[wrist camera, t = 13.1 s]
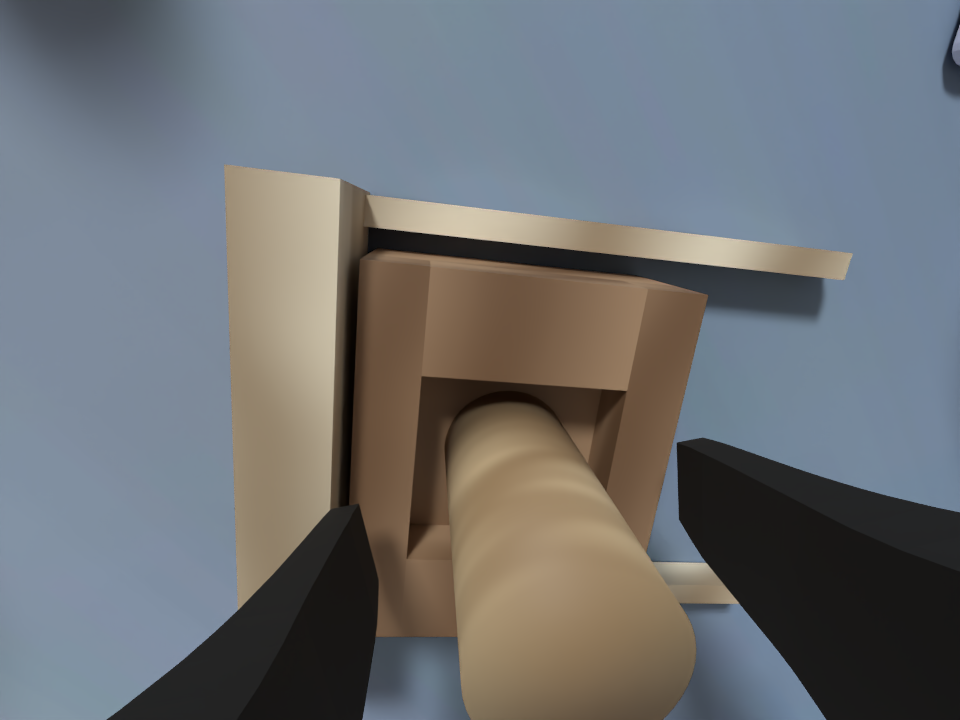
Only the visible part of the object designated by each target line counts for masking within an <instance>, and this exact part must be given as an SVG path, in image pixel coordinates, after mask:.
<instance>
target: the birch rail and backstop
mask: <svg viewBox="0 0 960 720" xmlns="http://www.w3.org/2000/svg"><path fill="white" fill-rule="evenodd" d="M224 170H225V203H226V235H227V268H228V300H229V333H230V365H231V398H232V430H233V462H234V495H235V527H236V560H237V592H238V610H239V609H240V608H241V607H242V606H243V605H244V604H245V603H246V601H247V600H248V599H249V598H250V597H251V596H252V595H253V594H254V593H255V592H256V591H257V590H258V589H259V588H260V587H261V586H262V585H263V584H264V583H265V582H266V581H267V580H268V579H269V578H270V577H271V576H272V575H273V574H274V573H275V571H276V570H277V569H278V568H279V567H280V566H281V565H282V564H283V563H284V561H285V560H286V559H287V558H288V557H289V556H290V555H291V554H292V552H293V551H294V550H295V549H296V548H297V547H298V546H299V545H300V543H301V542H302V541H303V540H304V539H305V538H306V536H307V535H308V534H309V533H310V532H311V531H312V529H313V528H314V527H315V526H316V525H317V524H318V523H319V521H320V520H321V519H322V518H323V517H324V516H325V515H326V514H327V513H328V512H329V511H330V510H331V509H333V508H338V507H344V506H349V498H350V475H351V451H352V428H353V405H354V381H355V358H356V335H357V311H358V288H359V265H360V259H361V258H363V257H364V256H366V255H367V252H368V231H369V227H374V228H383V229H392V230H400V231H409V232H418V233H427V234H436V235H445V236H454V237H463V238H472V239H481V240H490V241H499V242H508V243H517V244H525V245H534V246H543V247H552V248H561V249H570V250H579V251H588V252H597V253H606V254H615V255H624V256H633V257H642V258H650V259H659V260H668V261H677V262H686V263H695V264H704V265H713V266H722V267H731V268H740V269H749V270H758V271H767V272H775V273H784V274H793V275H802V276H811V277H820V278H829V279H838V280H844V279H845V276H846V273H847V270H848V266H849V263H850V260H851V257H852V254H853V253H845V252H837V251H828V250H820V249H812V248H804V247H795V246H787V245H779V244H771V243H762V242H754V241H746V240H737V239H729V238H721V237H713V236H704V235H696V234H688V233H679V232H671V231H663V230H655V229H646V228H638V227H630V226H622V225H613V224H605V223H597V222H588V221H580V220H572V219H564V218H555V217H547V216H539V215H531V214H522V213H514V212H506V211H497V210H489V209H481V208H473V207H464V206H456V205H448V204H439V203H431V202H423V201H415V200H406V199H398V198H390V197H382V196H373V195H370V192H367V191H365V190H363V189H361V188H359V187H357V186H354V185H352V184H350V183H348V182H346V181H344V180H341V179H337V178H329V177H321V176H312V175H304V174H296V173H288V172H280V171H272V170H264V169H256V168H248V167H240V166H232V165H224ZM652 563H653V564H654V566H655V567H656V569H657V570H658V572H659V573H660V575H661V576H662V578H663V579H664V581H665V582H666V584H667V586H668V587H669V589H670V590H671V592H672V593H673V595H674V596H675V598H676V599H677V601H678V602H679V603H707V604H739V602H738V601H737V600H736V599H735V598H734V596H733V595H732V594H731V593H730V591H729V590H728V589H727V588H726V587H725V585H724V584H723V583H722V582H721V580H720V579H719V578H718V577H717V575H716V574H715V573H714V572H713V570H712V569H711V568H710V567H709V565H708V564H707V563H681V562H652Z"/></svg>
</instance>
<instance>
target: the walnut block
mask: <svg viewBox="0 0 960 720" xmlns="http://www.w3.org/2000/svg"><path fill="white" fill-rule="evenodd" d="M707 299H708V295H706V294H702V293H699V292H695V291H691V290H688V289H684V288H680V287H677V286H673V285H669V284H666V283H662V282H658V281H655V280H651V279H647V278H644V277H640V276H636V275H626V274H617V273H607V272H598V271H589V270H579V269H570V268H560V267H551V266H542V265H532V264H523V263H513V262H504V261H495V260H485V259H476V258H466V257H457V256H448V255H438V254H429V253H419V252H410V251H401V250H391V249H382V248H377V249H375V250H374V251H372V252H371V253H369V254H367V255H366V256H364V257H363V258H361V259H360V265H359V288H358V311H357V335H356V358H355V381H354V405H353V428H352V451H351V475H350V498H349V505H354V504H359V505H360V509H361V513H362V517H363V521H364V525H365V528H366V532H367V536H368V540H369V544H370V548H371V551H372V555H373V559H374V563H375V567H376V571H377V574H378V578H379V596H378V620H377V631H376V637H458V634H457V621H456V607H455V593H454V579H453V565H452V551H451V537H450V523H449V510H448V496H447V482H446V468H445V454H444V445H445V439H446V435H447V432H448V429H449V427H450V425H451V423H452V421H453V420H454V418H455V417H456V415H457V414H458V413H459V412H460V411H461V410H462V409H463V408H464V407H465V406H466V405H468V404H469V403H470V402H472V401H473V400H475V399H477V398H479V397H481V396H483V395H486V394H489V393H493V392H498V391H518V392H523V393H527V394H530V395H532V396H535V397H537V398H538V399H540V400H542V401H543V402H544V403H546V404H547V405H548V406H549V407H550V408H551V409H552V410H553V411H554V413H555V414H556V416H557V417H558V419H559V420H560V422H561V423H562V425H563V426H564V428H565V429H566V431H567V432H568V434H569V435H570V437H571V439H572V440H573V442H574V443H575V445H576V446H577V448H578V449H579V451H580V452H581V454H582V455H583V457H584V458H585V460H586V462H587V463H588V465H589V466H590V468H591V469H592V471H593V472H594V474H595V475H596V477H597V478H598V480H599V481H600V483H601V484H602V486H603V488H604V489H605V491H606V492H607V494H608V495H609V497H610V498H611V500H612V501H613V503H614V504H615V506H616V507H617V509H618V511H619V512H620V514H621V515H622V517H623V518H624V520H625V521H626V523H627V524H628V526H629V527H630V529H631V530H632V532H633V533H634V535H635V537H636V538H637V540H638V541H639V543H640V544H641V546H642V547H643V549H644V550H645V552H646V551H647V547H648V543H649V539H650V535H651V530H652V526H653V522H654V518H655V514H656V510H657V506H658V501H659V497H660V493H661V489H662V485H663V481H664V477H665V472H666V468H667V464H668V460H669V456H670V452H671V448H672V443H673V439H674V435H675V431H676V427H677V423H678V419H679V414H680V410H681V406H682V402H683V398H684V394H685V390H686V386H687V381H688V377H689V373H690V369H691V365H692V361H693V357H694V352H695V348H696V344H697V340H698V336H699V332H700V328H701V323H702V319H703V315H704V311H705V307H706V303H707Z"/></svg>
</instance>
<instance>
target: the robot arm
mask: <svg viewBox="0 0 960 720" xmlns="http://www.w3.org/2000/svg"><path fill="white" fill-rule="evenodd" d="M952 56H953V59H954V61H955V62H956V64H958V65H960V26H959V29H958V32H957V35H956V38H955V41H954V44H953V49H952ZM677 467H678V500H679V520H680V522H681V524H682V525H683V527H684V529H685V530H686V532H687V534H688V535H689V537H690V539H691V540H692V542H693V544H694V545H695V547H696V548H697V550H698V551H699V553H700V554H701V556H702V558H703V559H704V560H705V562H706V563H707V564H708V565H709V567H710V568H711V569H712V570H713V572H714V573H715V574H716V575H717V577H718V578H719V579H720V580H721V582H722V583H723V584H724V585H725V587H726V588H727V589H728V590H729V591H730V593H731V594H732V595H733V596H734V598H735V599H736V600H737V601H738V602H739V604H740V605H741V606H742V607H743V609H744V610H745V611H746V612H747V613H748V615H749V616H750V617H751V618H752V620H753V621H754V622H755V623H756V624H757V626H758V627H759V628H760V629H761V631H762V632H763V633H764V634H765V635H766V637H767V638H768V639H769V640H770V641H771V643H772V644H773V645H774V646H775V648H776V649H777V650H778V651H779V653H780V654H781V655H782V657H783V658H784V659H785V661H786V662H787V663H788V665H789V666H790V667H791V669H792V670H793V671H794V673H795V674H796V675H797V677H798V678H799V680H800V681H801V683H802V684H803V686H804V687H805V689H806V690H807V692H808V693H809V695H810V696H811V697H812V699H813V700H814V702H815V703H816V705H817V706H818V708H819V709H820V711H821V712H822V714H823V715H824V717H825V718H826V720H960V512H955V511H950V510H945V509H941V508H936V507H931V506H927V505H923V504H919V503H915V502H911V501H906V500H902V499H898V498H894V497H890V496H886V495H882V494H878V493H875V492H871V491H867V490H864V489H860V488H857V487H853V486H850V485H847V484H843V483H840V482H837V481H833V480H830V479H827V478H824V477H821V476H817V475H814V474H811V473H808V472H805V471H802V470H799V469H796V468H793V467H790V466H787V465H785V464H782V463H779V462H776V461H773V460H770V459H767V458H764V457H762V456H759V455H756V454H753V453H750V452H747V451H745V450H742V449H739V448H736V447H733V446H730V445H727V444H724V443H721V442H717V441H714V440H710V439H706V438H699V439H693V440H688V441H683V442H678V443H677ZM378 596H379V578H378V574H377V571H376V567H375V563H374V559H373V555H372V551H371V548H370V544H369V540H368V536H367V532H366V528H365V525H364V521H363V517H362V513H361V509H360V505H359V504H354V505H349V506H344V507H338V508H333V509H331V510H330V511H329V512H328V513H327V514H326V515H325V516H324V517H323V518H322V519H321V520H320V521H319V523H318V524H317V525H316V526H315V527H314V528H313V529H312V531H311V532H310V533H309V534H308V535H307V536H306V538H305V539H304V540H303V541H302V542H301V543H300V545H299V546H298V547H297V548H296V549H295V550H294V551H293V552H292V554H291V555H290V556H289V557H288V558H287V559H286V560H285V561H284V563H283V564H282V565H281V566H280V567H279V568H278V569H277V570H276V571H275V573H274V574H273V575H272V576H271V577H270V578H269V579H268V580H267V581H266V582H265V583H264V584H263V585H262V586H261V587H260V588H259V589H258V590H257V591H256V592H255V593H254V594H253V595H252V596H251V597H250V598H249V599H248V600H247V601H246V603H245V604H244V605H243V606H242V607H241V608H240V609H239V610H238V611H237V612H236V613H235V614H234V615H233V616H232V617H230V618H229V619H228V620H227V621H226V622H225V623H224V624H223V625H222V626H221V627H220V628H219V629H218V630H217V631H216V632H214V633H213V634H212V635H211V636H210V637H209V638H208V639H207V640H205V641H204V642H203V643H202V644H201V645H200V646H199V647H197V648H196V649H195V650H194V651H193V652H192V653H191V654H190V655H188V656H187V657H186V658H185V659H184V660H182V661H181V662H180V663H179V664H178V665H176V666H175V667H174V668H173V669H171V670H170V671H169V672H168V673H166V674H165V675H164V676H163V677H161V678H160V679H159V680H157V681H156V682H155V683H154V684H152V685H151V686H150V687H149V688H147V689H146V690H145V691H143V692H142V693H141V694H140V695H138V696H137V697H136V698H135V699H133V700H132V701H131V702H129V703H128V704H127V705H126V706H124V707H123V708H122V709H121V710H119V711H118V712H116V713H115V714H114V715H112V716H111V717H110V718H108V719H107V720H362V718H363V712H364V706H365V700H366V693H367V687H368V681H369V675H370V669H371V663H372V657H373V650H374V644H375V637H376V631H377V620H378Z"/></svg>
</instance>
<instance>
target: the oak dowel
mask: <svg viewBox="0 0 960 720" xmlns="http://www.w3.org/2000/svg"><path fill="white" fill-rule="evenodd" d="M444 454H445V468H446V482H447V496H448V510H449V523H450V537H451V551H452V565H453V579H454V593H455V607H456V621H457V634H458V648H459V662H460V676H461V689H462V697H463V701H464V705H465V708H466V711H467V713H468V715H469V717H470V719H471V720H663V719H664V718H665V717H666V716H667V715H668V714H669V713H670V711H671V710H672V709H673V708H674V707H675V705H676V704H677V703H678V701H679V700H680V698H681V697H682V695H683V694H684V692H685V690H686V688H687V686H688V684H689V682H690V679H691V676H692V674H693V670H694V665H695V661H696V641H695V635H694V631H693V628H692V625H691V623H690V621H689V619H688V616H687V615H686V613H685V612H684V610H683V608H682V607H681V605H680V604H679V602H678V601H677V599H676V598H675V596H674V595H673V593H672V592H671V590H670V589H669V587H668V586H667V584H666V582H665V581H664V579H663V578H662V576H661V575H660V573H659V572H658V570H657V569H656V567H655V566H654V564H653V563H652V561H651V559H650V558H649V556H648V555H647V553H646V552H645V550H644V549H643V547H642V546H641V544H640V543H639V541H638V540H637V538H636V537H635V535H634V533H633V532H632V530H631V529H630V527H629V526H628V524H627V523H626V521H625V520H624V518H623V517H622V515H621V514H620V512H619V511H618V509H617V507H616V506H615V504H614V503H613V501H612V500H611V498H610V497H609V495H608V494H607V492H606V491H605V489H604V488H603V486H602V484H601V483H600V481H599V480H598V478H597V477H596V475H595V474H594V472H593V471H592V469H591V468H590V466H589V465H588V463H587V462H586V460H585V458H584V457H583V455H582V454H581V452H580V451H579V449H578V448H577V446H576V445H575V443H574V442H573V440H572V439H571V437H570V435H569V434H568V432H567V431H566V429H565V428H564V426H563V425H562V423H561V422H560V420H559V419H558V417H557V416H556V414H555V413H554V411H553V410H552V409H551V408H550V407H549V406H548V405H547V404H546V403H544V402H543V401H542V400H540V399H538V398H537V397H535V396H532V395H530V394H527V393H523V392H518V391H498V392H493V393H489V394H486V395H483V396H481V397H479V398H477V399H475V400H473V401H472V402H470V403H469V404H468V405H466V406H465V407H464V408H463V409H462V410H461V411H460V412H459V413H458V414H457V415H456V417H455V418H454V420H453V421H452V423H451V425H450V427H449V429H448V432H447V435H446V439H445V445H444Z"/></svg>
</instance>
